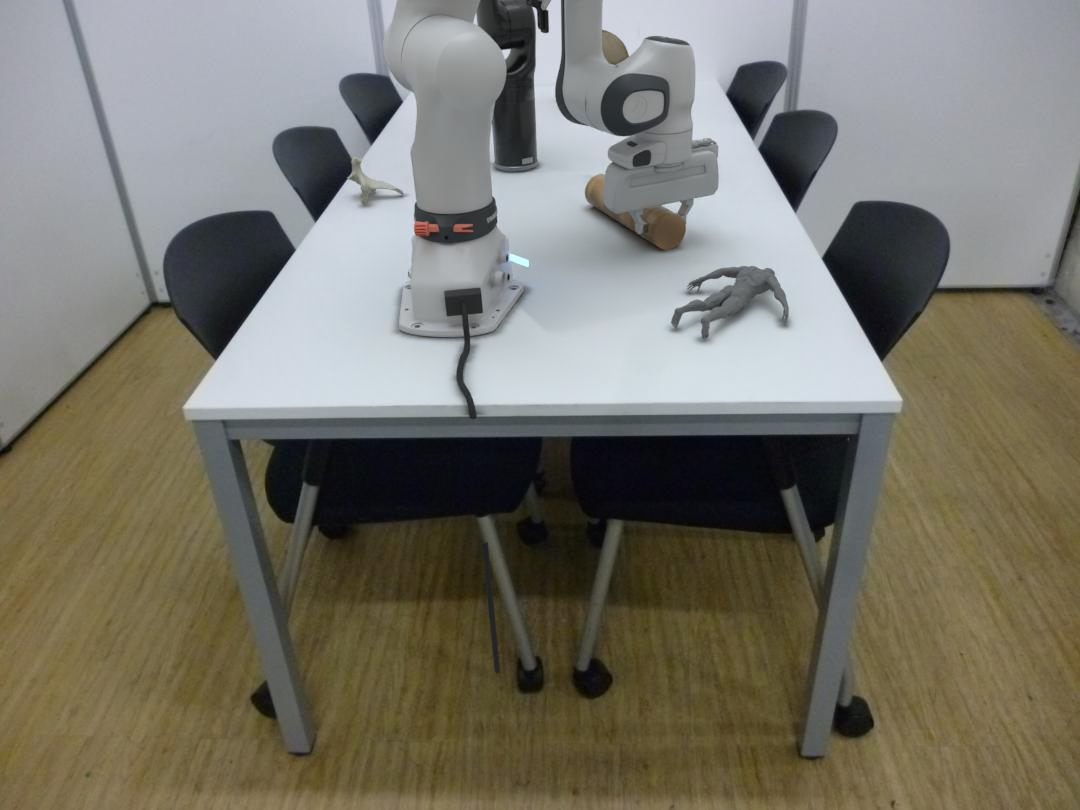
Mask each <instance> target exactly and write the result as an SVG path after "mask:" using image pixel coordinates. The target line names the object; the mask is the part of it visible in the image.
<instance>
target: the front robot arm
mask: <svg viewBox="0 0 1080 810" xmlns="http://www.w3.org/2000/svg"><path fill="white" fill-rule="evenodd" d="M603 1H604V0H560V17H561V18H560V25H561V26H560V27H561V28H560V30H561V31H560V32H561V33H560V34H561V54H560V55H561V56H560V63H559V66H558V67H559V68H558V73H557V75H556V81H555V87H554V97H555V102H556V105H557V108H558V110H559V112H560V114H561V115H562V116H563V117H564V118H565V119H566V120H568V121H569V122H571V123H572V124H577V125H580V126H586V127H590V128H593V129H596V130H597V131H600V132H603V133H606V134H609V135H612V136H616V137H625V138H624V139H622V140H620V141H618V142H616V143H615V144H613V145H611V146H610V147H609V148H608V149H607V158H608V160H609V161H611V162H610V163H609V164H608V165H607V167H606V169H605V173H604V174H605V178H604V190H603V201H604V205H605V206H606V207H607V208H608V209H609V210H610V211H612V212H614V213H616V214H619V213H624V212H629V213H630V214H631V216H632V218H633V220H634V221H635V231H636V232H637V233H638V234H637V233H636V234H637V235H639V234H643V233H647V232H648V229H647V228H648V223H647V222H645V221H644V220H642V219H641V217H640V215H642V214H643V209H644V208H649V207H654V206H659V205H661V206H663V205H664V206H665V205H669V204H673V203H678V202H679V203H680V207H679V209H678V211H677V212H675V213H676V214H678V215H679V216H681V217H682V218H683V219H684V221H685V225H687V218H688V217H687V216H688V215H689V213H690V211H691V209H692V208H693V206H694V199H699V198H704V197H709V196H714V195H715V194H716V193H717V190H718V189H719V180H720V179H719V178H720V177H719V176H720V175H719V162H718V157H719V145H718V143H717V142H716V141H715V140H713V139H712V138H711V137H705V138H702V139H694V140H693V133H694V131H693V130H694V123H693V118H692V108H693V104H694V101H695V96H696V58H695V52H694V50H693V47H692V45H691V44H690V43H689V42H688V41H686V40H684V39H679V38H675V37H668V36H662V35H651V36H647V37H644V38H643V39H642V42H641V44H640V46H638V48H637V49H636V50H635V51H634V52H633V53H631V54H630V55H629V57H628V58H626V59H625V60H623V61H622V62H620V63H618V64H616V65H613V64H610V63H608V62H607V60H606V59H605V57H604V55H603V52H602V30H603ZM479 3H480V0H396V3H395V8H394V10H393V11H394V12H393V16H392V20H391V23H390V24H389V25H388V27H387V28H386V31H385V34H384V36H383V41H382V52H383V57H384V60H385V63H386V65H387V68H388V69H389V71H390V73H391V74H392V77H394V79H395V80H396V82H397V83H398V84H399V85H400V86H402V87H403V88H404V89H405V90H407V91H409V92H411V93H413V95H414V99H415V103H416V118H415V119H416V120H415V133H414V138H413V139H414V140H413V142H412V145H411V147H410V159H411V168H412V176H413V184H414V192H415V193H414V194H415V201H416V202H415V203H414V209H413V210H414V211H413V222H414V223H413V232H414V235H413V236H412V237H411V246H412V247H411V248H412V250H411V262H410V263H411V266H410V269H408V271H407V277H408V278H409V279H410V280H408V281H405V282H404V283H403V284H402V292H401V299H400V308H399V309H400V310H399V318H398V329H399V331H401V332H403V333H406V334H410V335H415V336H421V337H422V336H423V337H434V338H435V337H437V338H458V337H459V338H460V337H463V350H462V353H461V354H460V356H459V359H458V363H457V368H456V383H457V386H458V388H459V390H460V391H461V393H462V395H463V396H464V398H465V402H466V405H467V409H468V414H469V419H471V420H475V419H477V411H476V406H475V402H474V399H473V396H472V394H471V392H470V390H469V388H468V387H467V385H466V384H465V381H464V367H465V364H466V360H467V358H468V356H469V353H470V349H471V337H473V336H479V335H484V334H489V333H492V332H494V331H496V330H497V328H498V327H499V326H500V324H502V322H503V320H504V319H505V318H506V316H507V315H508V314H509V312H510V311H511V309H512V308H513V307H514V306H515V304H516V303H517V301H518V300H519V298H520V297H522V295H523V293H524V292H525V287H524V283H523V282H522V281H519V280H517V279H514V277H513V268H512V262H514V263H516V264H518V265H521V266H524V267H527V268H529V267H530V262H529V259H526V258H524V257H522V256H518V255H516V254H512V253H511V249H510V241H509V238H508V237H507V236H506V235H505V234H504V233H503V232H502V231H501V230H500V228H499V227H498V225H497V224H498V206H497V201H496V198H495V196H493V185H492V169H491V150H490V149H491V148H490V147H491V133H492V120H493V113H494V107H495V101H496V100H497V98H498V97H499V95H500V94H501V92H502V90H503V87H504V84H505V80H506V62H505V59H506V58H505V55H504V53H503V50H501V49H500V47H499V46H498V45H497V43H496V42H495V41H494V40H493V39H492V38H491V37H490V36H489V35H488V34H487V33H486V32H485V31H484V30H483V29H482V28H480V27H479V26H478V25H477V23H476V24H475V23H474V21H475V18H476V12H477V9H478V6H479ZM481 550H482V551H481V552H482V561H483V570H484V579H485V580H484V581H485V589H486V598H487V599H486V600H487V601H486V602H487V610H488V619H489V630H490V639H491V647H492V648H491V650H492V659H493V668H494V669H493V670H494V673H495V674H499V673H500V672H501V665H500V664H501V663H500V656H499V655H500V654H499V645H498V635H497V634H498V633H497V624H496V612H495V603H494V592H493V582H492V581H493V580H492V571H491V561H490V552H489V551H490V550H489V541H486V542H484V543H481Z"/></svg>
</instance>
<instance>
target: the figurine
mask: <svg viewBox="0 0 1080 810" xmlns="http://www.w3.org/2000/svg"><path fill="white" fill-rule="evenodd" d="M775 273H776V272H775V271H774V270H773V269H772V268H770V267H765V268H759V267H758V266H754V265H749V266H748V265H741V266H729V267H721V268H718V269H715V270H713V271H710V272H709V273H707V274H706V275H703V276H699V278H697V279H694V280H692V281H690V282H689V283H688V285H687V286H686V287H687V288H686V290H688V292H691V291H692V290H693V289H694V288H696V287H697V292H699V291H700V289H701V286H702V284H703V283H704V282H706V281H709V280H719V279H720V278H722V277H725V278H730V279H735V281H734V284H733V285H732V284H727V285H725V286H724V287H723V288H722V289H720V290H719V291H718V292H714V293H711V294H710V295H708V296H707V297H706V298H705V299H703V300H701V299H693V300H691V301H689V302H688V303H686V305H683V306H681V307H676V308H675V309H674V312H673V315H672V317H671V321H670V324H671V325H672V327H674V328H675V329H678V327H679V324H680V321H681V319H682V316H683V314H686V313H690V312H703V313H704V312H707V311H710V313H709V314H708V315H707V316H702V317H701V318H700V320H699V321H700V324H701V331H700V332H701V333H700V334H701V339H702V340H704V339H708V338H710V332H709V330H710V327H711V326H710V324H711V323H712V322H714V321H718V320H721V319H726V318H727V317H731V316H733V315H734V314H735V313H738V312H740V311H741V309H743V308H744V307H745V306H746V304H747V303H749V301H751V300H752V299H753V298H755V297H756V296H758V295H762V294H764V293H766V292H769V291H771V292H773V297H774V298H775V300H777V301H778V302H779V303H780V304H781V306H782V308H783V311H782V317H781V320H782V321H784V323H783V324H784V325H786V324H787V321H788V319H789V315H790V314H789V313H790V306H789V303H788V299H787V295H786V292H785V290H784V289H783V287H781V283H780V282H779V280H778V278H777V276H776V274H775Z"/></svg>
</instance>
